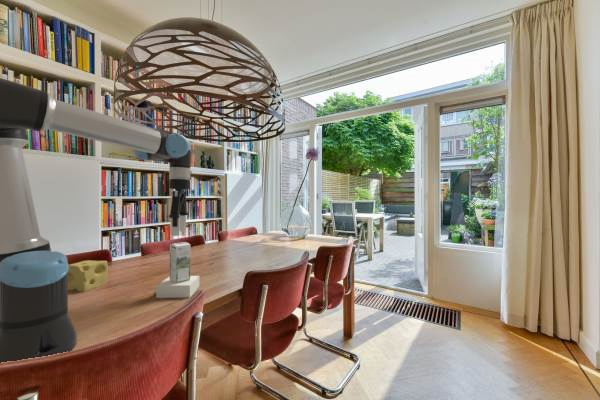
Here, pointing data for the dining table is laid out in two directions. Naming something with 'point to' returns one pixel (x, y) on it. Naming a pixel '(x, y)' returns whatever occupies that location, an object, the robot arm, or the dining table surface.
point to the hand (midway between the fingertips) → (179, 233)
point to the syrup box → (180, 262)
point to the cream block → (177, 288)
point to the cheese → (87, 275)
